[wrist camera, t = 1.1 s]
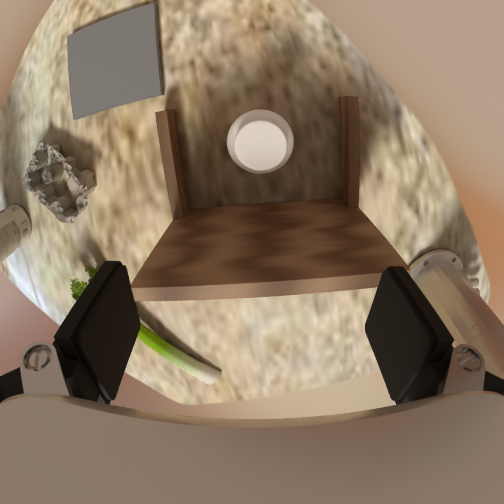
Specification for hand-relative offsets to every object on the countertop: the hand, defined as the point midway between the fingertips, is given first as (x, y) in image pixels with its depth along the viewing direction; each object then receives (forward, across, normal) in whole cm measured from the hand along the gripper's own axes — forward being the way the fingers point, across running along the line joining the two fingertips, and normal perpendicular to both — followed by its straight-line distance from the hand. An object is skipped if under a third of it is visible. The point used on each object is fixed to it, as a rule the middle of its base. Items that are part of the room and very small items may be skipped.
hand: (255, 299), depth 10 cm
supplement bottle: (+24, -1, -3) cm, 24 cm away
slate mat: (+24, +16, -13) cm, 32 cm away
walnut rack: (+24, -1, -1) cm, 24 cm away
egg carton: (+25, +25, +1) cm, 35 cm away
